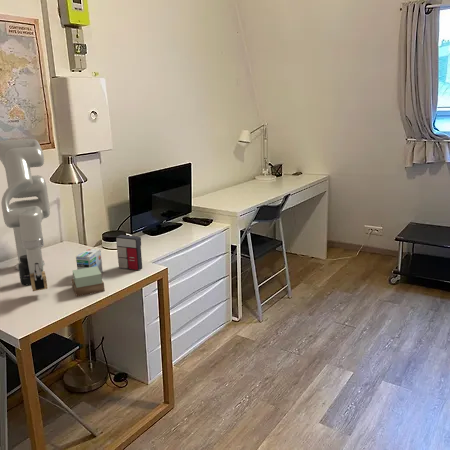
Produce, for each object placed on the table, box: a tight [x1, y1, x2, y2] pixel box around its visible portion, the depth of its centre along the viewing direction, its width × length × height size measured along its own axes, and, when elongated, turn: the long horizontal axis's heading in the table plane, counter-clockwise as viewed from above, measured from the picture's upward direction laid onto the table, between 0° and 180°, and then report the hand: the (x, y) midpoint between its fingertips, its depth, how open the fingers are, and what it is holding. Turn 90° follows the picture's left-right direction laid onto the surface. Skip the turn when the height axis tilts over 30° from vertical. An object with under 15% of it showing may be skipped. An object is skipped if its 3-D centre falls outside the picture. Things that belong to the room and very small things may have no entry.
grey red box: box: [115, 234, 143, 271], centre depth 209 cm, size 11×4×15 cm, turn 68°
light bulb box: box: [75, 248, 104, 274], centre depth 202 cm, size 11×7×11 cm, turn 168°
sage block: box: [72, 266, 103, 288], centre depth 187 cm, size 10×10×4 cm
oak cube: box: [30, 270, 48, 292], centre depth 182 cm, size 6×6×6 cm
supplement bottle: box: [18, 255, 31, 286], centre depth 196 cm, size 7×7×12 cm
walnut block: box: [71, 278, 105, 297], centre depth 188 cm, size 11×11×4 cm
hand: (39, 285), depth 182 cm, fingers closed on oak cube, 5 cm apart
